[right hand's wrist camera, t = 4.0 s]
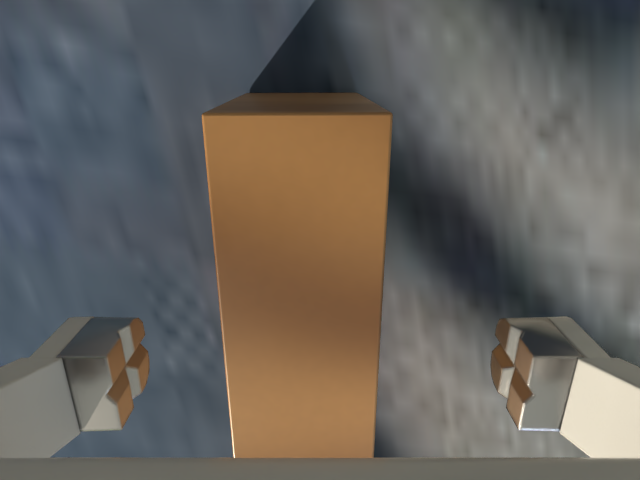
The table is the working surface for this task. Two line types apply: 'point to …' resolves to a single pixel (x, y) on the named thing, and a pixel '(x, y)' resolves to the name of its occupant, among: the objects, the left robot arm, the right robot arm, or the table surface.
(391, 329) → the table surface
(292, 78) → the table surface
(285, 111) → the beam
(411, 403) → the table surface
